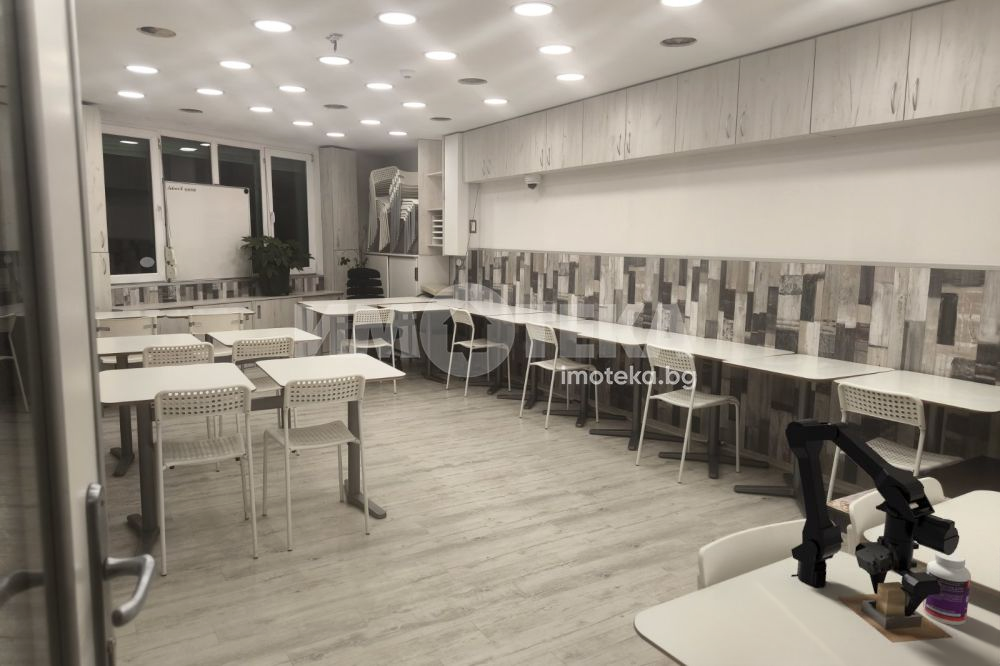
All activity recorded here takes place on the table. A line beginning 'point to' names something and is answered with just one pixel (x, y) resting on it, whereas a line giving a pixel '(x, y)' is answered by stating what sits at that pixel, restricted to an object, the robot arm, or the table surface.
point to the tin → (890, 622)
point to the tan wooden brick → (890, 599)
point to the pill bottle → (948, 589)
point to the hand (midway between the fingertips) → (891, 604)
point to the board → (895, 635)
